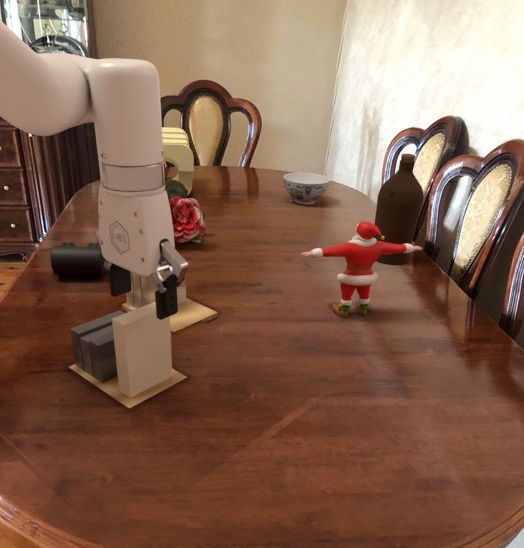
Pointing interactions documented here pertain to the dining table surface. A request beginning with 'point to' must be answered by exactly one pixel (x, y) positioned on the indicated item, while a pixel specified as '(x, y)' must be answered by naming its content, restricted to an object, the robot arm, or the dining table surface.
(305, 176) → the chinaware
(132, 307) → the cream book stand
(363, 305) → the santa figurine
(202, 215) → the carnation
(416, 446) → the dining table surface
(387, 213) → the olive oil
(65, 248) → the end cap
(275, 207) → the dining table surface
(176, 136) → the slatted curved stool
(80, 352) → the grey book stand
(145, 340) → the cream book
